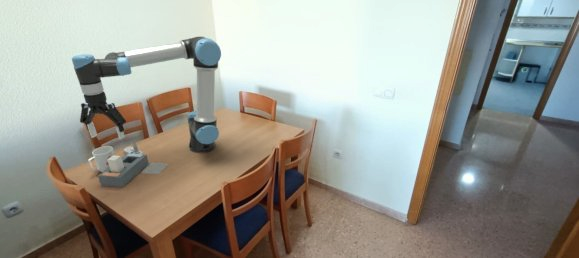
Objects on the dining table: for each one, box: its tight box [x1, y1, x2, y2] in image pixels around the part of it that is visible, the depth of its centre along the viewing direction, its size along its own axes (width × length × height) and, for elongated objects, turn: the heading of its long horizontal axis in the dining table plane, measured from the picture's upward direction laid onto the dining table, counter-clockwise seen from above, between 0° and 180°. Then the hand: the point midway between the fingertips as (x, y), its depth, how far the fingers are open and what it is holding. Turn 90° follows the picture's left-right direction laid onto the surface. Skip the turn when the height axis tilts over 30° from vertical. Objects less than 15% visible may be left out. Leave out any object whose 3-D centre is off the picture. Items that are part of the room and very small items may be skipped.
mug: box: [87, 145, 116, 173], centre depth 137 cm, size 12×9×11 cm
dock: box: [97, 153, 150, 188], centre depth 135 cm, size 11×21×6 cm, turn 174°
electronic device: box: [123, 141, 144, 155], centre depth 153 cm, size 5×10×15 cm
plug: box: [107, 155, 125, 173], centre depth 129 cm, size 4×4×12 cm
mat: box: [140, 162, 169, 175], centre depth 141 cm, size 10×10×1 cm
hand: (108, 137), depth 122 cm, fingers open, 13 cm apart
